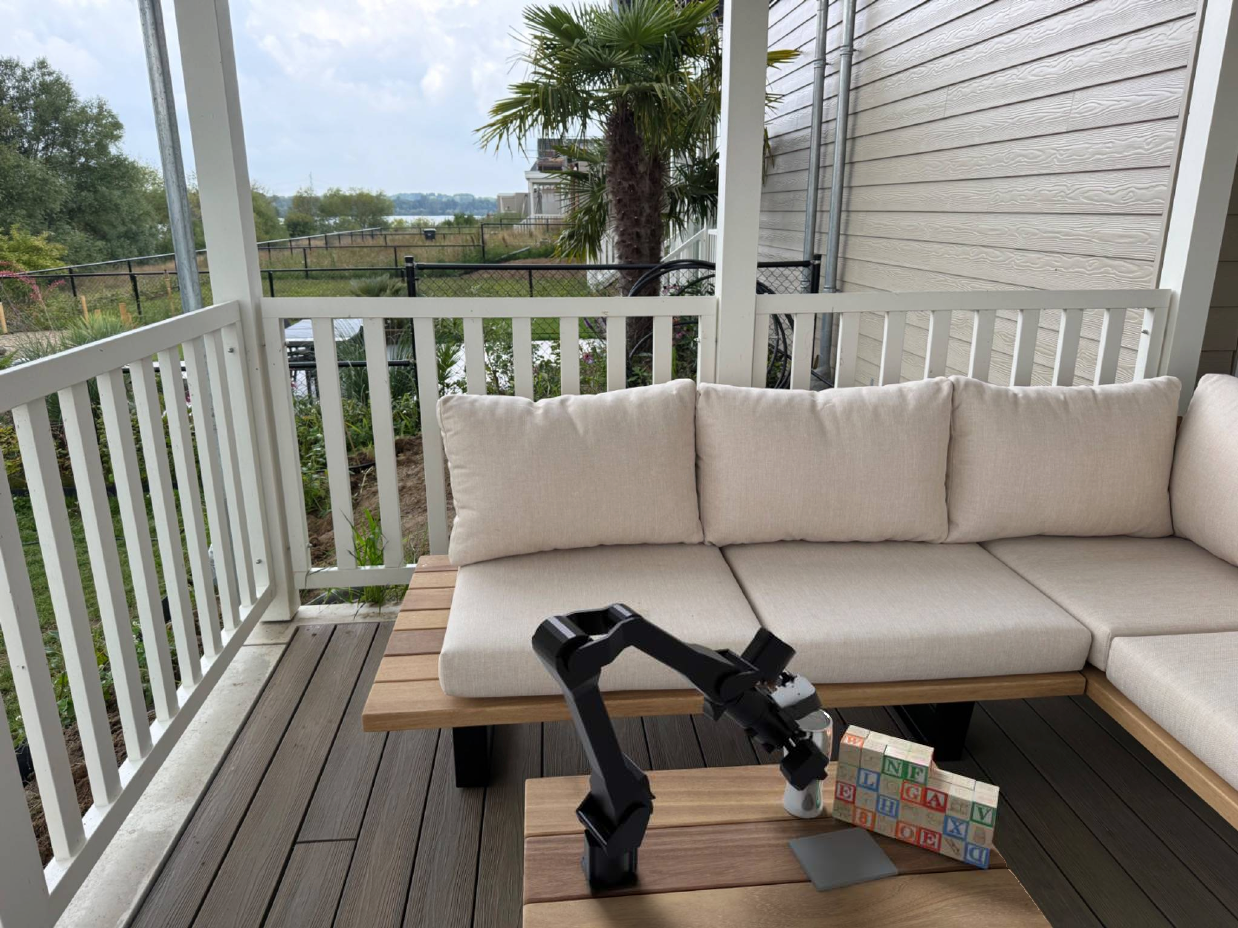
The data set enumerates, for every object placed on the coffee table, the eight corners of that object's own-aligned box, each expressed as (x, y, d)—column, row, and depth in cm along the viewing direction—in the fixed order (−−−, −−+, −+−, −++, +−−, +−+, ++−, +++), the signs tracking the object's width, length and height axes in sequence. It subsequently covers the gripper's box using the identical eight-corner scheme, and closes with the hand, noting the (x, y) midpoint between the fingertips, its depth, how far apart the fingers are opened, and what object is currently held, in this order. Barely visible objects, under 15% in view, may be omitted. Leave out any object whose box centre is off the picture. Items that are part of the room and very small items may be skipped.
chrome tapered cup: (806, 827, 118) (814, 737, 114) (769, 802, 123) (775, 716, 119) (835, 807, 122) (843, 720, 118) (798, 783, 127) (805, 699, 123)
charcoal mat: (818, 891, 106) (818, 887, 106) (787, 843, 115) (787, 840, 114) (898, 874, 109) (898, 870, 109) (862, 829, 118) (862, 825, 117)
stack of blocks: (991, 846, 114) (1003, 767, 112) (987, 871, 109) (1000, 788, 107) (840, 796, 125) (849, 722, 122) (830, 816, 119) (839, 739, 117)
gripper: (821, 702, 107) (886, 762, 112) (761, 637, 124) (821, 692, 130) (763, 762, 107) (831, 819, 112) (711, 689, 124) (773, 742, 130)
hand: (814, 763), depth 121 cm, fingers closed on chrome tapered cup, 6 cm apart
